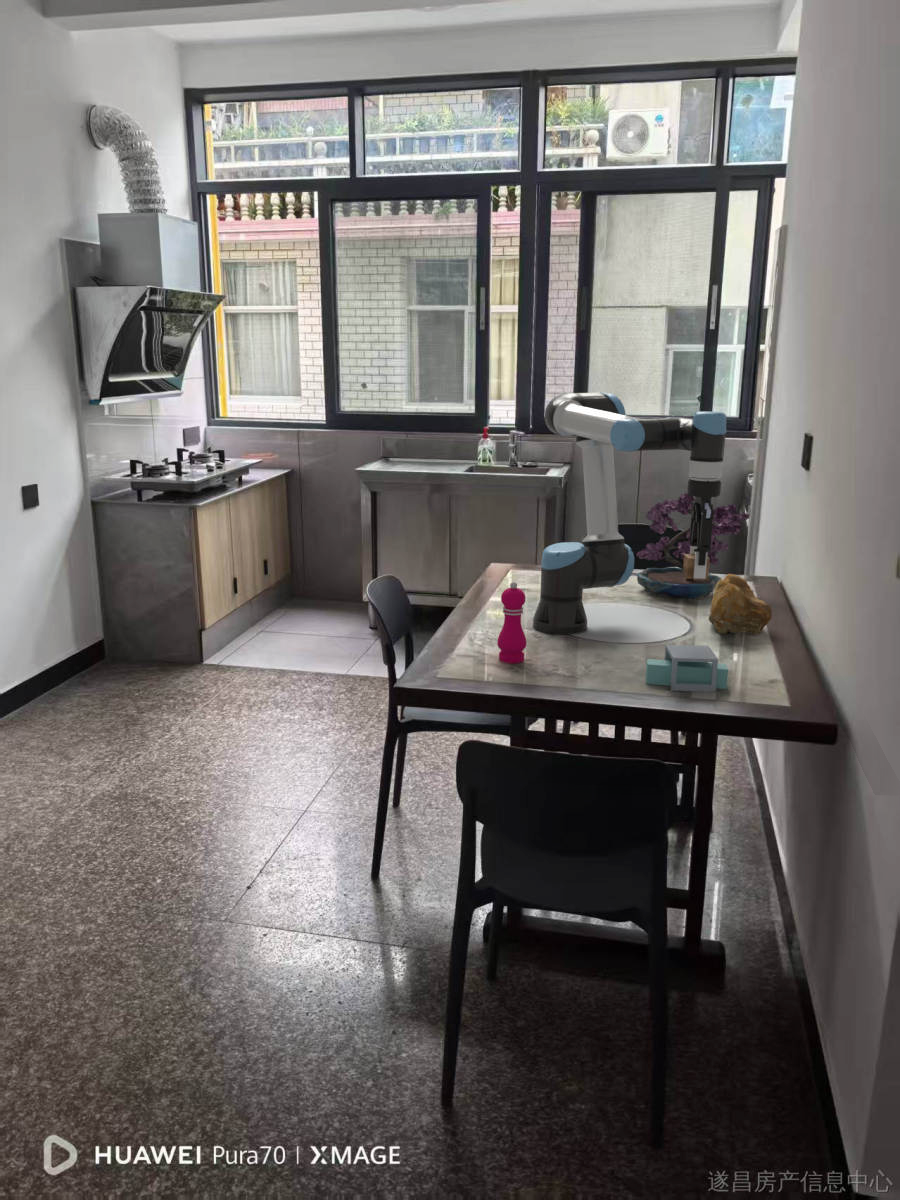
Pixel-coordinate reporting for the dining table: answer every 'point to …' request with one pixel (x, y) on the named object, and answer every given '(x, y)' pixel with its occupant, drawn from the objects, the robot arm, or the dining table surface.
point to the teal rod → (685, 673)
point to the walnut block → (692, 566)
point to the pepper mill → (512, 626)
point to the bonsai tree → (683, 550)
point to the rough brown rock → (738, 607)
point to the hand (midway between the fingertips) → (696, 575)
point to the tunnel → (691, 655)
